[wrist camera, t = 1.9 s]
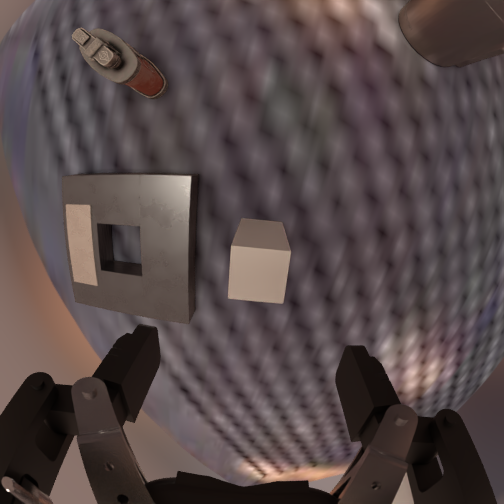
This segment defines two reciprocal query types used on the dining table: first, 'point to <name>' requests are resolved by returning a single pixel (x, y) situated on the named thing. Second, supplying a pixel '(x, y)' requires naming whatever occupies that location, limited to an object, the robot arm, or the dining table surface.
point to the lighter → (120, 62)
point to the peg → (259, 261)
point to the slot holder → (151, 234)
